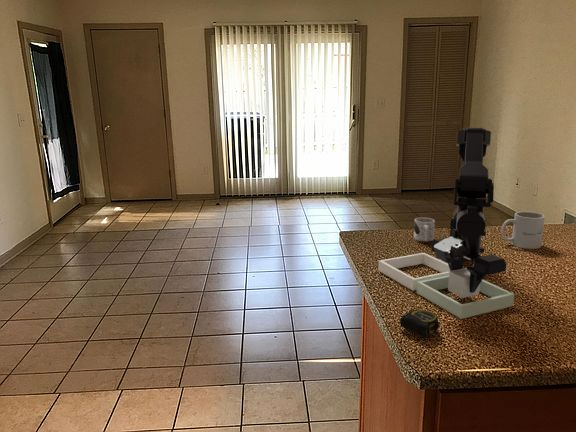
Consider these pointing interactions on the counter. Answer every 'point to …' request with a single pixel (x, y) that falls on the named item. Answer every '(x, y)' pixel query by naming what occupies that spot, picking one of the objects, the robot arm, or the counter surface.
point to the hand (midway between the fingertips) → (463, 288)
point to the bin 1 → (392, 264)
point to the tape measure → (420, 322)
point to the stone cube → (461, 283)
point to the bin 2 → (497, 302)
